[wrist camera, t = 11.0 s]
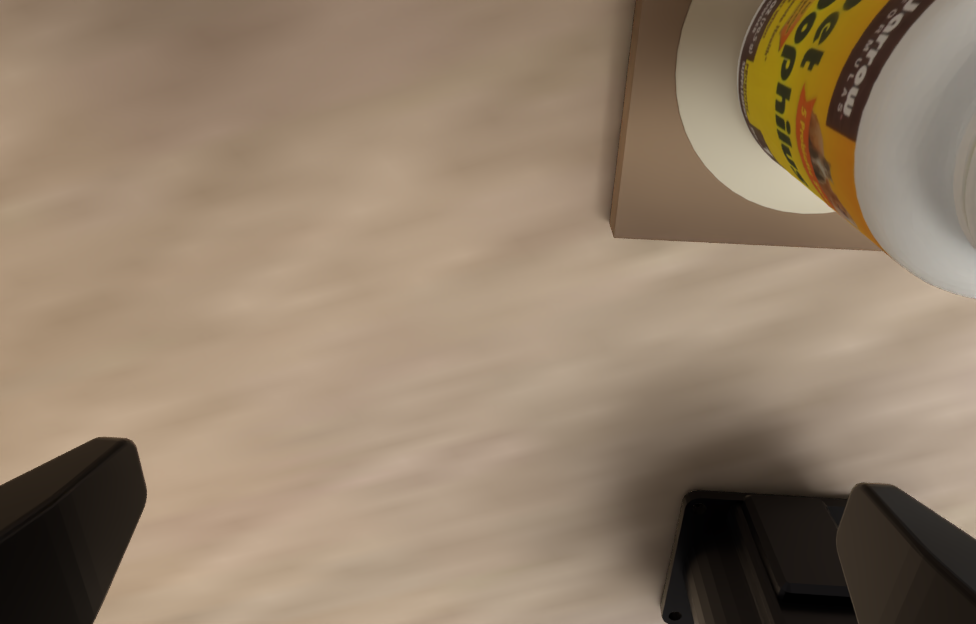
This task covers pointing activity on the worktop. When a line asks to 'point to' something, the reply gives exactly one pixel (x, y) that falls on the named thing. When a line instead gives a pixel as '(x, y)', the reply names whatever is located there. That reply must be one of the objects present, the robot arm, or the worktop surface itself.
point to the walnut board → (705, 141)
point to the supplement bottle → (874, 120)
